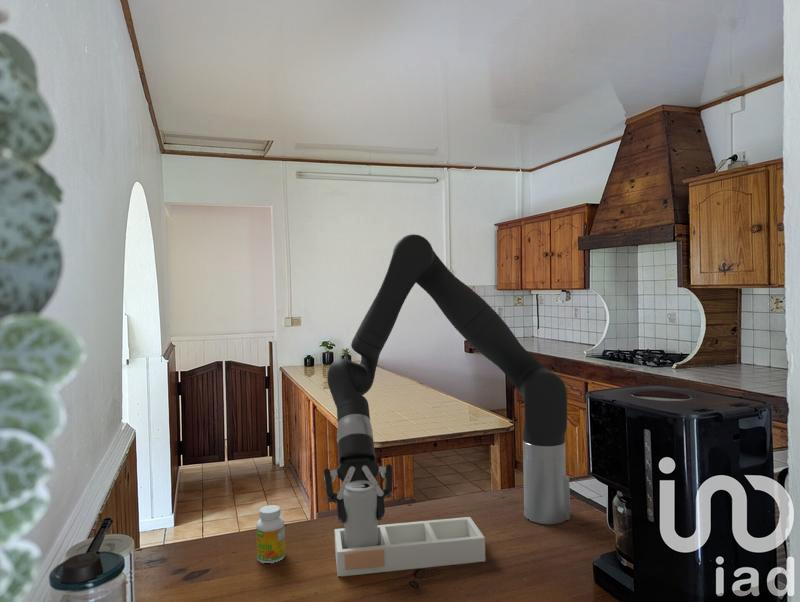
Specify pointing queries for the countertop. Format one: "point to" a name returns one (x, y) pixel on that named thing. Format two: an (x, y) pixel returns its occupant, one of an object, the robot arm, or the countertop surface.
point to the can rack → (413, 547)
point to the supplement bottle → (270, 535)
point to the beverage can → (360, 514)
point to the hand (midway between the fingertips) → (361, 519)
